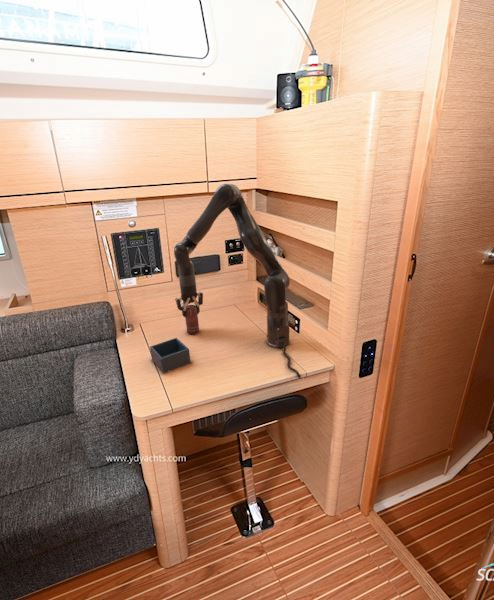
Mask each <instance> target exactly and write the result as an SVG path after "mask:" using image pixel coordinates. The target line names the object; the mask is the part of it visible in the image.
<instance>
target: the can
mask: <svg viewBox="0 0 494 600" xmlns="http://www.w3.org/2000/svg"><path fill="white" fill-rule="evenodd" d="M186 315H187V317H186V318H185V317H184V319H185V326H186V333H187V334H188V335H191V336H194V335H198V334H199V332H200V324H199V315H198V314H197V307H196V305H195V304H188V306H187V307H186Z"/></svg>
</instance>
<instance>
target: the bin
mask: <svg viewBox="0 0 494 600" xmlns="http://www.w3.org/2000/svg"><path fill="white" fill-rule="evenodd" d="M149 350H150V355H151V361H152V362H153V363H154V364H155V366H156V367H157V368H158V369H159V370H160V371H161V373H162V374H165V373H168V372H170V371H173V370H175V369H178V368H181V367H183V366H186V365H188V364H191V353H190V348H189V347H188V346H186V345H185V344H184V343H183V342H182V341H181V340H180V339H179V338H178V337H174V338H171V339H168V340H165V341H162V342H159V343H156V344H153V345H150V346H149Z"/></svg>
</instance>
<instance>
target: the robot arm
mask: <svg viewBox="0 0 494 600" xmlns="http://www.w3.org/2000/svg"><path fill="white" fill-rule="evenodd" d="M225 210H228V211H229V212H230V214H231V215H232V217H233V219H234V221H235V224H236V228H237V232H238V235H239V238H240V240H241V242H242V244H243V246H244V247H245V249H246V251H247V252H248V254H249V255H250V256H252V258H254V260H256V261H257V262H258V263H259V264H260V266H262V268H263V269H264V271H265V273H266V276H267V278H266V279H265V281H264V285H263V287H264V288H263V290H264V303H265V305H266V342H267V345H268V346H270V347H273V348H276V349H281V348H283V351H282V354H283V355H284V357H285V358H287V364H286V365H287V368H288V369H289V370H290V371H292V372H294V373H295V374H296V376H297V378H298V379H301V375H300V373H299V371H298V370H297V369H295V368H293V367H291V357H290V356H289V355H287V353H286V350H287V346H288V345H290V324H289V316H288V315H289V302H288V301H287V299H286V297H287V296H286V295H287V294H286V292H287V290H288V288H289V287H290V284H291V279H290V276H289V274H288V273H287V271H286V270H285V268H284V267H283V266H282V264H281V263H280V262H279V260H278V258H277V257H276V255H275V253H274V251H273V249H272V248H271V246H270V244H269V242H268V240H267V238H266V237H265V235H264V233H263V231H262V230H261V227H260V226H259V225H258V223H257V221H256V219H255V218H254V216H253V214H252V213H251V211H250V210H249V208H248V206H247V203H246V200H245V198H244V196H243V194H242V192H241V189H240V188H239V187H238V186H237V185H235V184H233V183H223V184H221V185H219V186H218V187H217V188H216V190H215V192H214V193H213V195H212V197H211V199H210V200H209V202H208V204H207V206H206V207H205V209H204V210H203V212H202V213H201V214H200V216H199V217H198V218H197V220H195V222H194V223H193V224H192V225H191V227H190V228H189V229H188V231H187V232H186V235H185V237H183V239H182V240H180V241H179V242H178V243H176V244H175V245H174V247H173V254H174V258H175V261H176V264H177V267H178V277H179V278H178V279H179V288H180V297H175V299H174V300H175V303H176V304H175V305H176V307H177V310H179V311H181V315H182V317H184V319H185V318H186V317H187V315H186V307H187V306H188V305H191V304H193V305H195V306H196V307H197V314H200V306H201V305H204V293H203V292H202V291H197V281H196V280H197V279H196V274H195V266H194V263H193V262H192V260H191V259H190V255H191V254H192V253H193V252H194V250H195V249H196V248H197V247H198V245H199V244H200V242H201V241H202V240H203V239H204V238H205V237H206V236H207V234H208V233H209V232H210V230H211V229H212V227H213V225H214V223H215V222H216V220H217V219H218V218H219V216H220V215H221V214H222V213H223V212H224V211H225Z"/></svg>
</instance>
